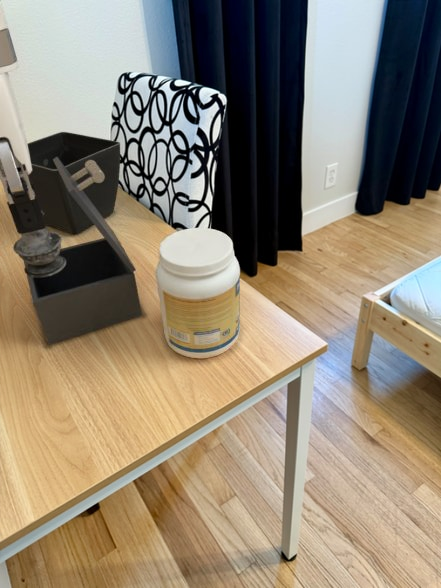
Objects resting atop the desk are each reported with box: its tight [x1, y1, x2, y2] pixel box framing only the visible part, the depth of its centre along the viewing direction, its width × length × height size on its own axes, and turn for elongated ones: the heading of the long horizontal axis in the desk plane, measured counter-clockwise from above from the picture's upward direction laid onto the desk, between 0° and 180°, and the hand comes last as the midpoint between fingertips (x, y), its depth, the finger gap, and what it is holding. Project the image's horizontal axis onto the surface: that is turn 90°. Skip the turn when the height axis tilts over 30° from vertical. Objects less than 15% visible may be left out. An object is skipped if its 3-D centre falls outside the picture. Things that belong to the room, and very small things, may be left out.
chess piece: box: [13, 189, 66, 278], centre depth 53 cm, size 6×6×12 cm
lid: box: [53, 157, 137, 273], centre depth 67 cm, size 16×14×5 cm
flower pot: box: [27, 131, 121, 235], centre depth 98 cm, size 19×19×17 cm
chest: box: [23, 237, 143, 346], centre depth 73 cm, size 16×14×9 cm
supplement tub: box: [155, 227, 241, 359], centre depth 65 cm, size 12×12×17 cm
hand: (30, 221), depth 53 cm, fingers closed on chess piece, 3 cm apart
